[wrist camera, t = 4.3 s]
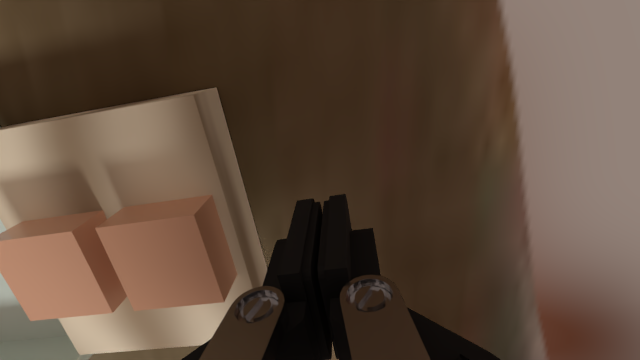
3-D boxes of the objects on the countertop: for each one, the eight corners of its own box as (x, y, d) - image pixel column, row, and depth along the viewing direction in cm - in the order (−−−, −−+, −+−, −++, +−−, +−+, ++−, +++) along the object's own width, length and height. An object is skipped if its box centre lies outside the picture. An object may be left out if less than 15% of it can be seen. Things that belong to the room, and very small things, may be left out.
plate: (216, 87, 15) (193, 94, 12) (277, 305, 19) (268, 339, 17) (8, 125, 16) (-47, 138, 14) (108, 320, 20) (79, 354, 18)
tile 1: (212, 194, 14) (193, 215, 12) (237, 274, 15) (224, 302, 14) (123, 206, 14) (95, 228, 13) (156, 282, 16) (134, 310, 14)
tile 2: (103, 209, 15) (71, 231, 13) (136, 285, 16) (112, 313, 14) (22, 221, 15) (-18, 243, 13) (62, 293, 16) (30, 320, 15)
